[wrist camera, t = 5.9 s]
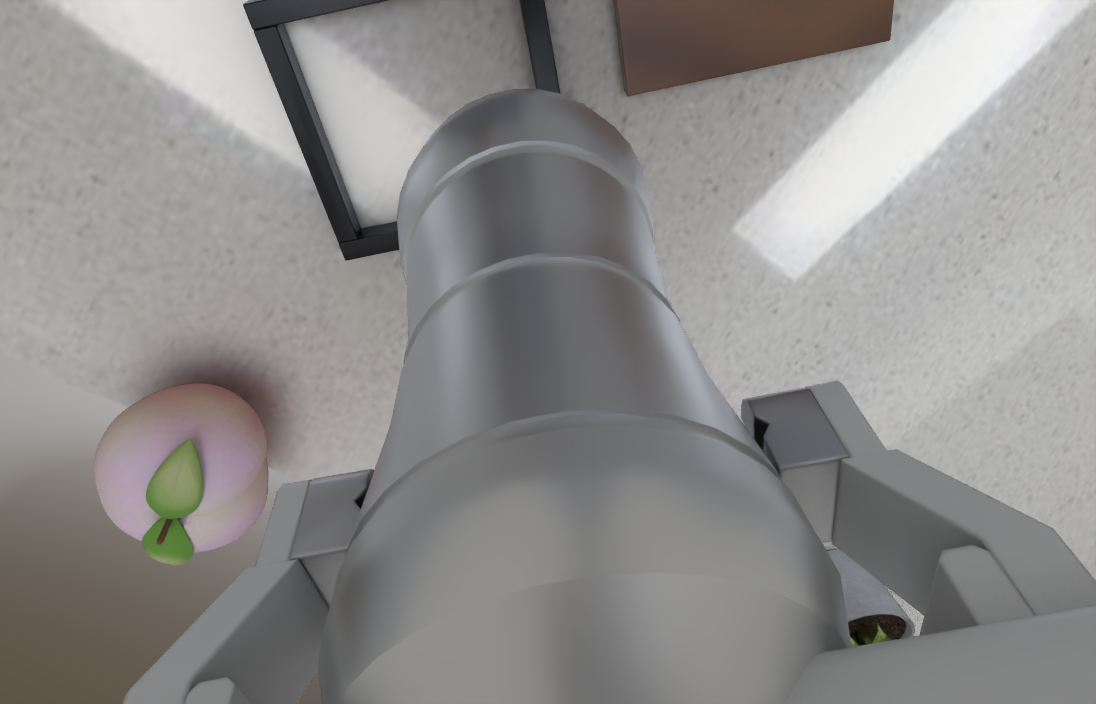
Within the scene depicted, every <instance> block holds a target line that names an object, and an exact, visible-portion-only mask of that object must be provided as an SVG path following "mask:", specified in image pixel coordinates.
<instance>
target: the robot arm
mask: <svg viewBox="0 0 1096 704" xmlns="http://www.w3.org/2000/svg"><path fill="white" fill-rule="evenodd" d="M741 418H742V420H743V423H744V425H745V427H746V429H747V430H748V431H749V433H750V434H751V436H752V437H753V438H754V440H755V441H756V443H757V444H758V445H759V447H760V448H761V450H762V451H763V452H764V454H765V455H766V457H767V458H768V459H769V461H770V462H771V464H772V465H773V466H774V468H775V469H776V471H777V472H778V474H779V475H780V477H781V479H782V481H783V482H784V484H785V485H786V486H787V487H788V488H789V489H790V490H791V491H792V492H793V494H794V496H795V498H796V499H797V501H798V503H799V505H800V506H801V508H802V510H803V512H804V513H805V515H806V517H807V518H808V520H809V522H810V524H811V526H812V527H813V529H814V531H815V532H816V534H817V535H818V537H819V539H820V540H821V542H822V543H823V542H830V541H833V542H832V544H833V545H834V546H836V547H837V548H838V549H840V550H841V551H842V552H843V553H845V554H846V555H847V556H849V557H850V558H851V559H852V560H854V561H855V562H856V563H858V564H859V565H860V566H861V567H863V568H864V569H865V570H866V571H868V572H869V573H870V574H872V575H873V576H874V577H875V578H877V579H878V580H879V581H881V582H882V583H883V584H884V585H886V586H887V587H888V588H889V589H891V590H892V591H893V592H895V593H896V594H897V595H898V596H900V597H901V598H902V599H904V600H905V601H906V602H907V603H909V604H910V605H911V606H913V607H914V608H915V609H916V610H918V611H919V612H920V613H921V614H923V615H924V619H923V623H922V627H921V631H920V635H919V636H915V637H909V638H903V639H897V640H891V641H886V642H880V643H874V644H868V645H863V646H857V647H851V648H845V649H839V650H834V651H828V652H823V653H821V654H819V655H817V656H816V657H815V658H813V659H812V660H811V661H810V662H809V664H808V665H807V667H806V668H805V670H804V672H803V674H802V676H801V678H800V679H799V681H798V682H797V684H796V685H795V687H794V689H793V690H792V692H791V693H790V695H789V696H788V698H787V699H786V701H785V703H784V704H1096V580H1095V579H1094V578H1093V577H1092V576H1091V574H1090V573H1089V572H1088V571H1087V569H1086V568H1085V567H1084V566H1083V564H1082V563H1081V562H1080V561H1079V560H1078V558H1077V557H1076V556H1075V555H1074V553H1073V552H1072V551H1071V550H1070V548H1069V547H1068V546H1067V545H1066V544H1065V542H1064V541H1063V540H1062V539H1061V537H1060V536H1059V535H1058V534H1057V533H1056V531H1055V530H1054V529H1053V528H1051V527H1049V526H1047V525H1045V524H1043V523H1041V522H1039V521H1037V520H1035V519H1033V518H1031V517H1029V516H1027V515H1025V514H1023V513H1021V512H1019V511H1017V510H1015V509H1013V508H1012V507H1010V506H1008V505H1006V504H1004V503H1002V502H1000V501H998V500H996V499H994V498H992V497H990V496H988V495H986V494H984V493H982V492H980V491H978V490H976V489H974V488H972V487H970V486H968V485H966V484H964V483H962V482H960V481H958V480H956V479H954V478H952V477H950V476H948V475H946V474H944V473H942V472H940V471H939V470H937V469H935V468H933V467H931V466H929V465H927V464H925V463H923V462H921V461H919V460H917V459H915V458H913V457H911V456H909V455H907V454H905V453H903V452H901V451H899V450H897V449H896V450H890V451H887V450H886V448H885V447H884V445H883V444H882V442H881V441H880V439H879V438H878V436H877V435H876V433H875V432H874V430H873V429H872V427H871V426H870V424H869V423H868V421H867V420H866V418H865V417H864V415H863V414H862V412H861V411H860V409H859V408H858V406H857V405H856V403H855V402H854V400H853V399H852V397H851V396H850V394H849V393H848V391H847V390H846V388H845V387H844V385H843V384H842V383H840V382H839V381H832V382H827V383H822V384H817V385H812V386H807V387H805V388H798V389H793V390H788V391H783V392H778V393H773V394H767V395H762V396H757V397H752V398H747V399H743V401H742V405H741ZM373 473H374V470H372V469H370V470H364V471H358V472H351V473H345V474H339V475H333V476H327V477H321V478H315V479H313V480H307V481H301V482H294V483H288V484H283V485H282V486H281V488H280V489H279V490H278V491H277V494H276V497H275V500H274V504H273V507H272V510H271V514H270V518H269V521H268V524H267V527H266V531H265V534H264V538H263V541H262V544H261V548H260V551H259V554H258V558H257V561H256V565H255V567H252V568H247V569H245V570H244V571H243V572H242V573H241V574H240V575H239V576H238V578H237V579H235V581H234V582H233V583H232V584H231V585H230V586H229V587H228V588H227V589H226V590H225V591H224V592H223V593H222V594H221V595H220V596H219V597H218V599H216V600H215V601H214V602H213V604H211V606H210V607H209V608H208V609H207V610H206V611H205V612H204V613H203V614H202V615H201V616H200V617H199V618H198V619H197V620H196V621H195V622H194V623H193V624H192V625H191V627H189V628H188V629H187V631H186V632H185V633H184V634H183V635H182V636H181V637H180V638H179V639H178V640H177V641H176V642H175V643H174V644H173V645H172V646H171V647H170V648H169V649H168V650H167V651H166V653H164V654H163V655H162V657H161V658H160V659H159V660H158V661H157V662H156V663H155V664H154V665H153V666H152V667H151V668H150V669H149V670H148V671H147V672H146V673H145V674H144V675H143V676H142V677H141V678H140V679H139V680H138V681H137V682H136V684H135V685H134V686H133V687H132V688H131V689H130V690H129V691H128V692H127V694H126V696H125V699H124V701H123V704H297V703H298V701H299V699H300V698H301V696H302V695H303V693H304V692H305V690H306V688H307V687H308V685H309V684H310V682H311V681H312V679H313V678H314V676H315V675H316V673H317V672H318V663H319V655H320V646H321V637H322V634H323V630H324V626H325V623H326V619H327V615H328V612H329V608H330V604H331V600H332V596H333V592H334V587H335V583H336V579H337V575H338V572H339V570H340V568H341V566H342V563H343V561H344V559H345V556H346V551H347V548H348V545H349V542H350V539H351V536H352V533H353V531H354V528H355V525H356V522H357V519H358V516H359V513H360V510H361V508H362V505H363V502H364V499H365V496H366V493H367V490H368V488H369V485H370V482H371V479H372V476H373Z"/></svg>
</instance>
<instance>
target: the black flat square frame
mask: <svg viewBox="0 0 1096 704" xmlns="http://www.w3.org/2000/svg"><path fill="white" fill-rule="evenodd" d="M383 1H387V0H248V1H247V2H246V3H245V4H243V6H244V9H245V11H246V14H247V16H248V19H249V21H250V24H251V26H252V29H253V30H254V34H255V36H256V39H257V41H258V44H259V46H260V49H261V51H262V54H263V56H264V58H265V61H266V63H267V66H268V68H269V71H270V73H271V76H272V78H273V81H274V83H275V86H276V88H277V91H278V93H279V96H280V98H281V101H282V103H283V106H284V108H285V111H286V113H287V116H288V118H289V121H290V123H291V126H292V128H293V131H294V133H295V136H296V138H297V141H298V143H299V146H300V148H301V151H302V153H303V156H304V158H305V161H306V163H307V166H308V168H309V171H310V173H311V176H312V178H313V181H314V183H315V185H316V188H317V190H318V193H319V195H320V198H321V200H322V203H323V205H324V208H325V210H326V213H327V215H328V218H329V220H330V223H331V225H332V228H333V230H334V233H335V235H336V238H337V240H338V242H339V246H340V248H341V251H342V253H343V256H344V258H345V260H351V259H356V258H361V257H366V256H371V255H375V254H380V253H385V252H390V251H395V250H399V240H398V227H397V222H393V223H388V224H383V225H379V226H374V227H369V228H364V229H360V226H359V223H358V220H357V218H356V215H355V212H354V210H353V207H352V204H351V202H350V199H349V196H348V194H347V191H346V188H345V186H344V183H343V180H342V178H341V175H340V172H339V170H338V167H337V164H336V162H335V159H334V156H333V154H332V151H331V148H330V146H329V143H328V140H327V138H326V135H325V132H324V130H323V127H322V124H321V122H320V119H319V116H318V114H317V111H316V109H315V106H314V103H313V101H312V98H311V95H310V93H309V90H308V87H307V85H306V82H305V79H304V77H303V74H302V71H301V69H300V66H299V63H298V61H297V58H296V55H295V53H294V50H293V47H292V45H291V42H290V39H289V37H288V34H287V31H286V29H285V26H284V23H288V22H292V21H297V20H301V19H306V18H311V17H315V16H320V15H324V14H329V13H333V12H338V11H342V10H347V9H351V8H356V7H360V6H365V5H369V4H374V3H378V2H383ZM519 1H520V6H521V11H522V17H523V22H524V27H525V33H526V38H527V43H528V48H529V54H530V59H531V64H532V69H533V75H534V80H535V85H536V89H540V90H545V91H550V92H555V93H559V94H560V89H559V83H558V78H557V72H556V66H555V60H554V54H553V48H552V42H551V37H550V31H549V25H548V19H547V13H546V7H545V2H544V0H519Z"/></svg>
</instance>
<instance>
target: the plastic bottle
mask: <svg viewBox="0 0 1096 704" xmlns="http://www.w3.org/2000/svg"><path fill="white" fill-rule="evenodd" d="M397 227H398V240H399V251H400V261H401V267H402V270H403V274H404V278H405V281H406V284H407V315H408V342H407V347H406V352H405V358H404V364H403V368H402V371H401V376H400V381H399V385H398V390H397V395H396V400H395V405H394V410H393V415H392V420H391V424H390V427H389V430H388V433H387V436H386V439H385V442H384V445H383V447H382V450H381V453H380V456H379V459H378V462H377V465H376V468H375V470H374V473H373V476H372V479H371V482H370V485H369V488H368V490H367V493H366V496H365V499H364V502H363V505H362V508H361V510H360V513H359V516H358V519H357V522H356V525H355V528H354V531H353V533H352V536H351V539H350V542H349V545H348V548H347V551H346V556H345V559H344V561H343V563H342V566H341V568H340V570H339V572H338V575H337V579H336V583H335V587H334V592H333V596H332V600H331V604H330V608H329V612H328V615H327V619H326V623H325V626H324V630H323V634H322V637H321V646H320V655H319V663H318V673H319V681H320V689H321V697H322V704H784V703H785V701H786V699H787V698H788V696H789V695H790V693H791V692H792V690H793V689H794V687H795V685H796V684H797V682H798V681H799V679H800V678H801V676H802V674H803V672H804V670H805V668H806V667H807V665H808V664H809V662H810V661H811V660H812V659H813V658H815V657H816V656H817V655H819V654H821V653H823V652H828V651H834V650H839V649H845V648H851V640H850V633H849V627H848V620H847V613H846V606H845V600H844V593H843V587H842V581H841V575H840V573H839V571H838V570H837V568H836V566H835V564H834V563H833V561H832V559H831V557H830V556H829V554H828V552H827V551H826V549H825V547H824V545H823V544H822V542H821V540H820V539H819V537H818V535H817V534H816V532H815V531H814V529H813V527H812V526H811V524H810V522H809V520H808V518H807V517H806V515H805V513H804V512H803V510H802V508H801V506H800V505H799V503H798V501H797V499H796V498H795V496H794V494H793V492H792V491H791V490H790V489H789V488H788V487H787V486H786V485H785V484H784V482H783V481H782V479H781V477H780V475H779V474H778V472H777V471H776V469H775V468H774V466H773V465H772V464H771V462H770V461H769V459H768V458H767V457H766V455H765V454H764V452H763V451H762V450H761V448H760V447H759V445H758V444H757V443H756V441H755V440H754V438H753V437H752V436H751V434H750V433H749V431H748V430H747V429H746V427H745V426H744V424H743V423H742V422H741V420H740V419H739V417H738V416H737V415H736V413H735V412H734V410H733V409H732V408H731V406H730V405H729V403H728V402H727V401H726V399H725V398H724V396H723V395H722V394H721V392H720V391H719V389H718V388H717V387H716V385H715V384H714V382H713V381H712V379H711V378H710V377H709V375H708V374H707V372H706V370H705V368H704V366H703V364H702V362H701V360H700V359H699V357H698V355H697V353H696V351H695V349H694V347H693V345H692V343H691V341H690V339H689V337H688V336H687V334H686V332H685V331H684V329H683V327H682V325H681V324H680V320H679V318H678V316H677V315H676V313H675V311H674V309H673V307H672V305H671V303H670V301H669V299H668V298H667V295H666V291H665V287H664V283H663V279H662V275H661V271H660V268H659V264H658V260H657V256H656V252H655V248H654V223H653V211H652V205H651V200H650V194H649V189H648V185H647V182H646V178H645V175H644V171H643V167H642V165H641V164H640V162H639V160H638V158H637V156H636V154H635V152H634V151H633V149H632V147H631V145H630V144H629V143H628V142H627V141H626V140H625V139H624V137H623V136H622V135H621V134H620V133H619V132H618V131H617V129H616V128H615V127H614V126H612V125H611V124H610V123H608V122H607V121H606V120H604V119H603V118H602V117H601V116H599V115H598V114H596V113H595V112H594V111H592V110H591V109H590V108H588V107H587V106H585V105H584V104H583V103H581V102H578V101H576V100H574V99H572V98H569V97H567V96H565V95H563V94H559V93H555V92H550V91H545V90H540V89H512V90H508V91H503V92H498V93H493V94H489V95H487V96H485V97H482V98H480V99H478V100H475V101H473V102H471V103H469V104H467V105H465V106H464V107H463V108H461V109H460V110H458V111H457V112H455V113H454V114H452V115H451V116H450V117H448V118H447V119H446V120H445V121H444V122H443V123H442V124H441V126H440V127H439V128H438V129H437V130H436V131H435V132H434V133H433V134H432V135H431V137H430V138H429V139H428V141H427V142H426V144H425V145H424V146H423V148H422V149H421V151H420V153H419V154H418V156H417V157H416V159H415V161H414V162H413V164H412V165H411V167H410V169H409V170H408V173H407V176H406V179H405V181H404V184H403V187H402V190H401V192H400V198H399V205H398V212H397Z"/></svg>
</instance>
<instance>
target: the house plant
mask: <svg viewBox="0 0 1096 704" xmlns="http://www.w3.org/2000/svg"><path fill="white" fill-rule="evenodd" d="M827 552H828V554H829V556H830V557H831V559H832V561H833V563H834V564H835V566H836V568H837V570H838V571H839V573H840V575H841V581H842V587H843V593H844V600H845V606H846V613H847V620H848V627H849V633H850V640H851V647H857V646H863V645H868V644H874V643H880V642H886V641H891V640H897V639H903V638H909V637H913V636H914V633H915V627H914V623H913V622H912V621H911V619H910V618H909V617H908V615H907V614H906V613H905V612H904V610H903V609H902V608H901V606H900V605H899V604H898V603H897V601H896V600H895V599H894V597H893V596H892V595H891V594H890V592H889V591H888V590H887V588H886V587H885V586H884V585H883V583H882V582H881V581H879V580H878V579H877V578H875V577H874V576H873V575H872V574H870V573H869V572H868V571H866V570H865V569H864V568H863V567H861V566H860V565H859V564H858V563H856V562H855V561H854V560H852V559H851V558H850V557H849V556H847V555H846V554H845V553H843V552H842V551H841V550H840V549H834V550H829V551H827Z"/></svg>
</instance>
